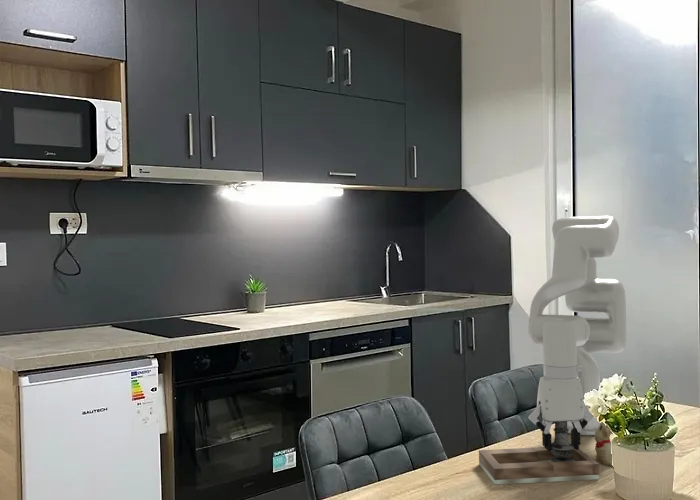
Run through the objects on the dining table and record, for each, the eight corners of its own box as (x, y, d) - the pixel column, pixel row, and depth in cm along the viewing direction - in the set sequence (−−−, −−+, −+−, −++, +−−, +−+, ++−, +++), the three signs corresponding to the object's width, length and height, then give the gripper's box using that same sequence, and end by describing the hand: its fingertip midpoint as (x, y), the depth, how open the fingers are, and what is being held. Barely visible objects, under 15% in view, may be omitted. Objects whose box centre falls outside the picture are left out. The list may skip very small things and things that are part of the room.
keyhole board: (575, 459, 176) (574, 445, 176) (599, 479, 162) (598, 463, 162) (479, 464, 175) (478, 450, 175) (494, 484, 161) (494, 468, 161)
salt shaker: (572, 457, 171) (571, 407, 171) (577, 465, 166) (576, 413, 165) (546, 457, 172) (545, 407, 172) (551, 464, 166) (550, 413, 166)
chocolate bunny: (619, 457, 177) (618, 417, 177) (617, 467, 170) (617, 425, 170) (595, 455, 180) (594, 415, 179) (593, 465, 172) (592, 423, 172)
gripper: (589, 367, 173) (590, 442, 173) (519, 370, 172) (520, 445, 172) (602, 373, 165) (603, 451, 166) (529, 376, 164) (530, 455, 164)
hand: (561, 447), depth 169 cm, fingers closed on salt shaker, 5 cm apart
